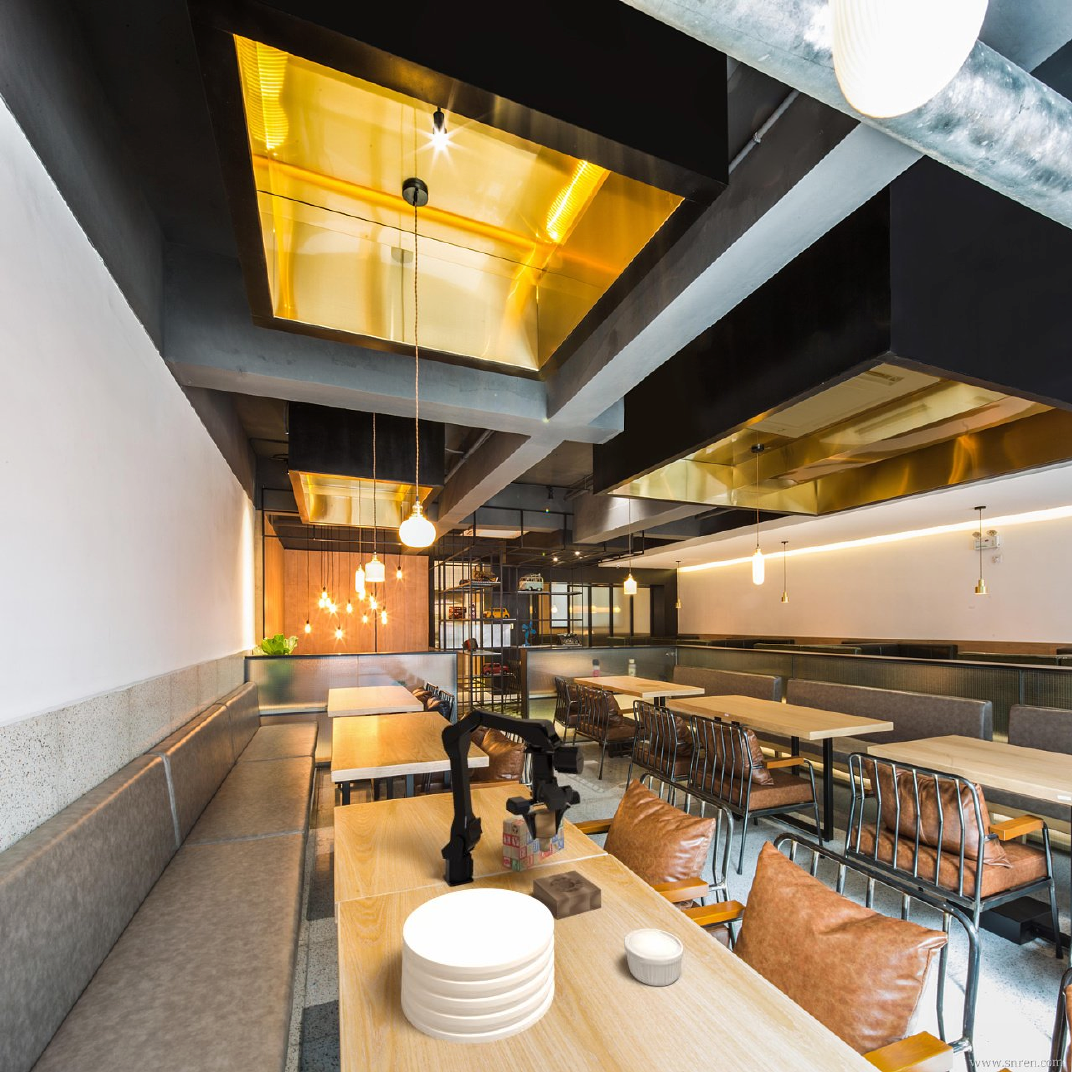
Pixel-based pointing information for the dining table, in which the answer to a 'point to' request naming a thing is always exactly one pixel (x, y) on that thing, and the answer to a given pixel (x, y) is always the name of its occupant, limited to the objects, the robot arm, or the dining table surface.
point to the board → (567, 894)
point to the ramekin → (654, 956)
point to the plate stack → (477, 965)
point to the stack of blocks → (525, 844)
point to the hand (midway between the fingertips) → (544, 837)
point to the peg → (545, 827)
